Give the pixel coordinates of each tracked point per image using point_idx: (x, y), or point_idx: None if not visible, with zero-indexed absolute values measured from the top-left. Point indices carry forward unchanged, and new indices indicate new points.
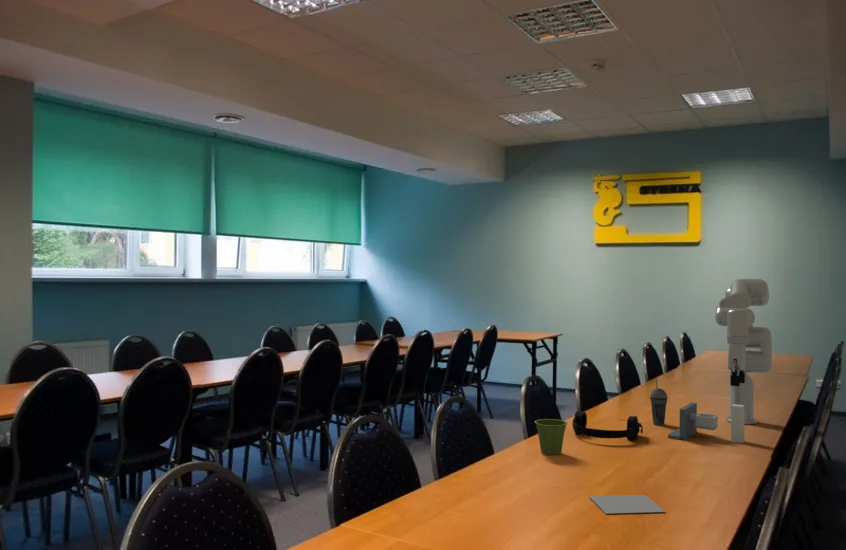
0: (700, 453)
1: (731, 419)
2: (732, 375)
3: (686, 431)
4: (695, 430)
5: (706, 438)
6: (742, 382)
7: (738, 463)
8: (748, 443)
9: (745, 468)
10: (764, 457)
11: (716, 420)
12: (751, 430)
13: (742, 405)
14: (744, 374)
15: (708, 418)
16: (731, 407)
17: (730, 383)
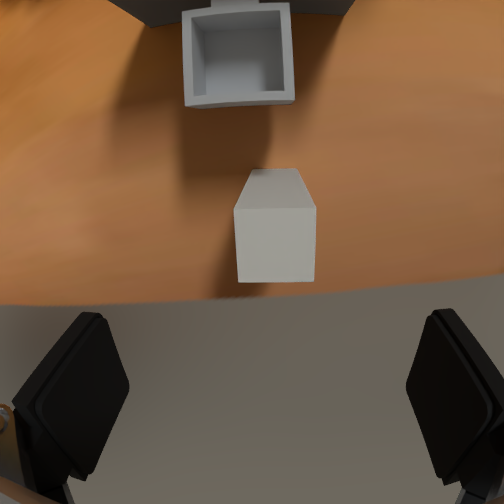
0: (27, 149)
1: (243, 189)
2: (7, 420)
3: (163, 13)
4: (324, 11)
5: None
6: (410, 379)
7: (19, 258)
8: None
9: (5, 278)
10: (110, 303)
11: (258, 102)
12: (487, 203)
13: (296, 273)
14: (439, 473)
15: (185, 78)
16: (234, 208)
17: (73, 322)
